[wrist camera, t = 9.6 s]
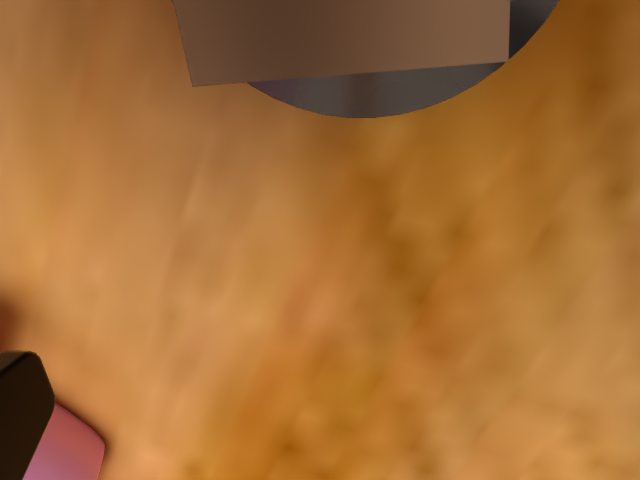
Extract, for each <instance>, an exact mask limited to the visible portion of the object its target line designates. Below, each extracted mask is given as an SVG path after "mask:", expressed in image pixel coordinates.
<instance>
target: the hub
mask: <svg viewBox="0 0 640 480" xmlns="http://www.w3.org/2000/svg"><path fill="white" fill-rule="evenodd" d="M172 2H173V0H172ZM558 2H559V0H510V23H509V59H510V58H511V57H512V56H513V55H514V54H515V53H516V52H518V51H519V50H520V49H521V48H522V47H523V46H524V45H525V44H526V43H527V41H528V40H529V39H530V38H531V37H532V36H533V35H534V33H535V32H536V31H537V30H538V29H539V28H540V27H541V25H542V24H543V23H544V22H545V20H546V19H547V18H548V16H549V15H550V13H551V12H552V10H553V9H554V7H555V6H556V5H557V3H558ZM173 4H174V2H173ZM504 63H505V62H496V63H484V64H471V65H459V66H446V67H434V68H421V69H409V70H396V71H384V72H371V73H359V74H346V75H334V76H321V77H308V78H296V79H283V80H271V81H258V82H247V83H248V84H250V85H251V86H253V87H255V88H256V89H258V90H260V91H262V92H264V93H265V94H267V95H269V96H271V97H273V98H275V99H277V100H280V101H282V102H285V103H287V104H290V105H292V106H295V107H297V108H300V109H304V110H308V111H312V112H316V113H319V114H324V115H331V116H339V117H347V118H376V117H384V116H392V115H400V114H404V113H408V112H411V111H415V110H419V109H423V108H427V107H429V106H432V105H434V104H437V103H439V102H442V101H444V100H447V99H450V98H452V97H454V96H455V95H457V94H459V93H461V92H463V91H465V90H467V89H468V88H470V87H472V86H474V85H476V84H477V83H479V82H480V81H481V80H483V79H484V78H486V77H487V76H489V75H490V74H491V73H493V72H494V71H496V70H497V69H498V68H500V67H501V66H502V65H503V64H504Z"/></svg>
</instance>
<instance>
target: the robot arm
mask: <svg viewBox="0 0 640 480" xmlns="http://www.w3.org/2000/svg"><path fill="white" fill-rule="evenodd" d="M54 407H55V395H54V392H53V389H52V386H51V384H50V381H49V379H48V376H47V374H46V371H45V368H44V366H43V363H42V361H41V359H40V357H39V356H38V355H37V354H36V353H34V352H31V351H18V350H9V351H4V352H2V353H0V480H23V478H24V476H25V473H26V471H27V469H28V467H29V465H30V462H31V460H32V458H33V456H34V454H35V451H36V449H37V447H38V445H39V443H40V440H41V438H42V436H43V434H44V431H45V429H46V427H47V425H48V423H49V420H50V418H51V416H52V414H53V411H54Z"/></svg>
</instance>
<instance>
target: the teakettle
mask: <svg viewBox="0 0 640 480" xmlns="http://www.w3.org/2000/svg"><path fill="white" fill-rule="evenodd" d="M104 451H105V444H104V441H103V440H102V438H101V437H100V436H99V435H98V434H97V433H96V432H95V431H94V430H93V429H91V428H90V427H89V426H88V425H87V424H85V423H84V422H83V421H81V420H80V419H79V418H77V417H76V416H75V415H73V414H72V413H70V412H69V411H68V410H66V409H65V408H63V407H62V406H60V405H59V404H57V403H56V402H55V407H54V411H53V414H52V416H51V418H50V420H49V423H48V425H47V427H46V429H45V431H44V434H43V436H42V438H41V440H40V443H39V445H38V447H37V449H36V451H35V454H34V456H33V458H32V460H31V462H30V465H29V467H28V469H27V471H26V473H25V476H24V478H23V480H98V476H99V473H100V469H101V465H102V461H103V457H104Z"/></svg>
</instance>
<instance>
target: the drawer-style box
mask: <svg viewBox="0 0 640 480" xmlns="http://www.w3.org/2000/svg"><path fill="white" fill-rule="evenodd" d="M173 2H174V7H175V11H176V16H177V20H178V25H179V29H180V33H181V38H182V42H183V47H184V51H185V56H186V60H187V65H188V69H189V74H190V78H191V83H192V87H196V86H208V85H221V84H233V83H246V82H258V81H271V80H283V79H296V78H308V77H321V76H334V75H346V74H359V73H371V72H384V71H396V70H409V69H421V68H434V67H446V66H459V65H471V64H484V63H496V62H508V60H509V23H510V0H173Z"/></svg>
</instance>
